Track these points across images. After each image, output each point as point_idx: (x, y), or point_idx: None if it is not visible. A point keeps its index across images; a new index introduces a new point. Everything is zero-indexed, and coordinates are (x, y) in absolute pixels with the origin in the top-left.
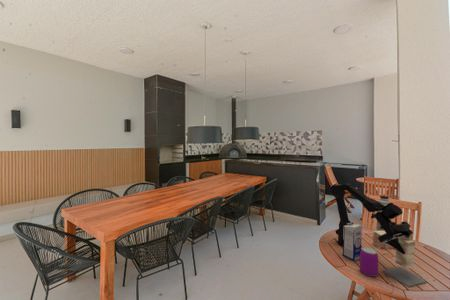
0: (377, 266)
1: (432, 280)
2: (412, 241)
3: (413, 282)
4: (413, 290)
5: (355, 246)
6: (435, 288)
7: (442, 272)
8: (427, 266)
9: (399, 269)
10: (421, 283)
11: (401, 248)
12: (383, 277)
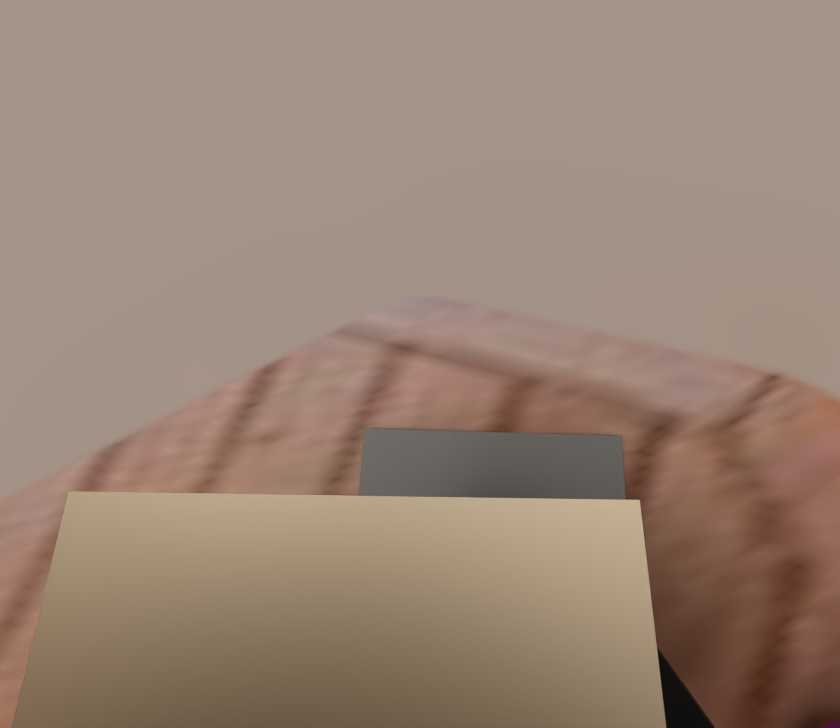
0: None
1: (282, 438)
2: (216, 514)
3: (515, 455)
4: (616, 397)
5: None
6: (388, 362)
7: (69, 483)
8: None
9: None
10: (438, 432)
11: (667, 675)
12: (747, 659)
